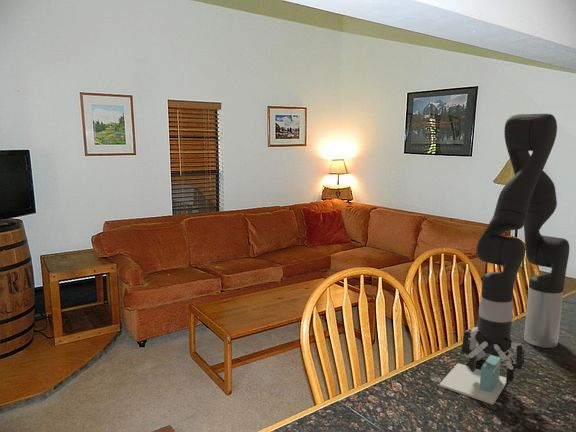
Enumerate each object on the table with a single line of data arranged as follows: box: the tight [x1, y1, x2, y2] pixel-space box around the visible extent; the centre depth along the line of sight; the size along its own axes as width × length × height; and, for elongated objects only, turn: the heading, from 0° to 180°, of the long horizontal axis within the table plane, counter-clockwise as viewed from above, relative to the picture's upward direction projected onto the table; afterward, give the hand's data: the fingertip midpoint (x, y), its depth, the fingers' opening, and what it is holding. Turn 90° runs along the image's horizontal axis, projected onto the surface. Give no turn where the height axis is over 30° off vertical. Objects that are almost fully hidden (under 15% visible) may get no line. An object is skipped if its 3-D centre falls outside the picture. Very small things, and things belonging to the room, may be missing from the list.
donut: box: [463, 326, 487, 362], centre depth 128 cm, size 10×4×10 cm, turn 122°
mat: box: [438, 362, 508, 405], centre depth 116 cm, size 14×13×1 cm
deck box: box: [480, 354, 502, 393], centre depth 114 cm, size 8×3×6 cm, turn 141°
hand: (490, 375), depth 115 cm, fingers open, 8 cm apart
